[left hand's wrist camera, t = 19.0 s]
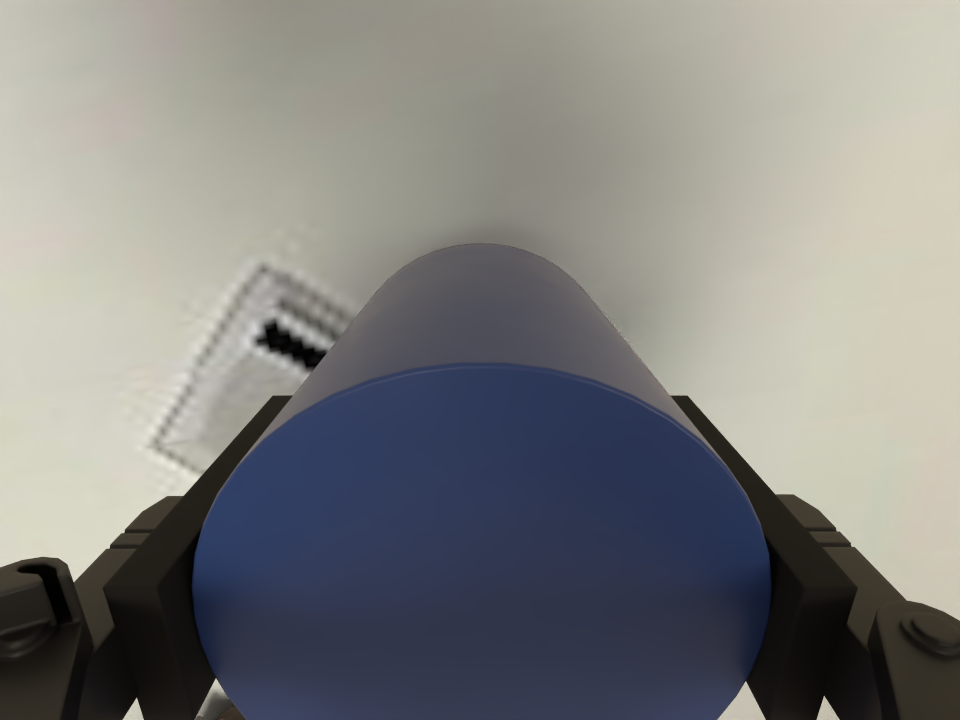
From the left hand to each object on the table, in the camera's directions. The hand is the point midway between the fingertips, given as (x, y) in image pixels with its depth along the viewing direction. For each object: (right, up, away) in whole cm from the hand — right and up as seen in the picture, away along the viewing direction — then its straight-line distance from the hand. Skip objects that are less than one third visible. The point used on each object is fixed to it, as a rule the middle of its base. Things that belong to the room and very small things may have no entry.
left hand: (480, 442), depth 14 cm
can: (0, +2, +4) cm, 5 cm away
